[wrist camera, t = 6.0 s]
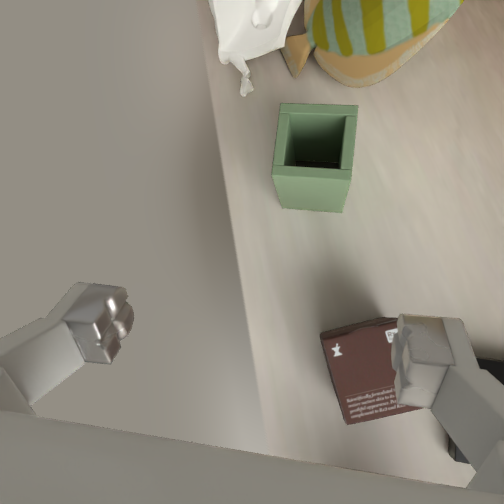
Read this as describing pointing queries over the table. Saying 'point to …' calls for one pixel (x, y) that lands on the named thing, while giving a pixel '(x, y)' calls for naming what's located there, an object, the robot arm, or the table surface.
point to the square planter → (314, 155)
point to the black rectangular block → (500, 371)
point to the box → (363, 369)
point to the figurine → (250, 30)
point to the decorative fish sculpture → (365, 36)
